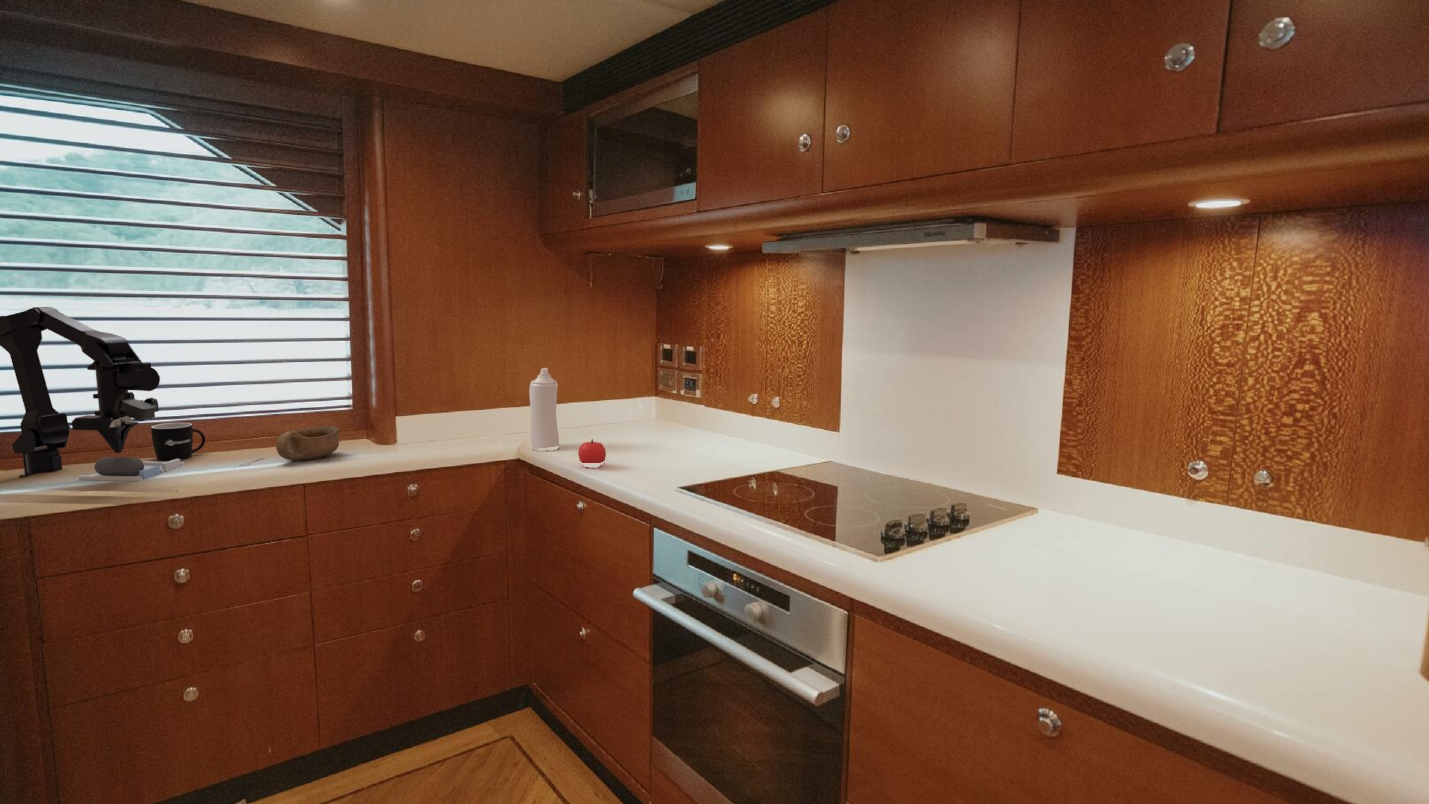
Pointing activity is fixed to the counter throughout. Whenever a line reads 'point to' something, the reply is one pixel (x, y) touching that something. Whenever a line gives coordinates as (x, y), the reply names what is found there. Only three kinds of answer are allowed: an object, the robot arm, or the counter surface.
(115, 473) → the grey capsule
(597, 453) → the apple
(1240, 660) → the counter surface
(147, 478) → the board
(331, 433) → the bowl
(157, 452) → the mug
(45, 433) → the robot arm
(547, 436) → the spray can
